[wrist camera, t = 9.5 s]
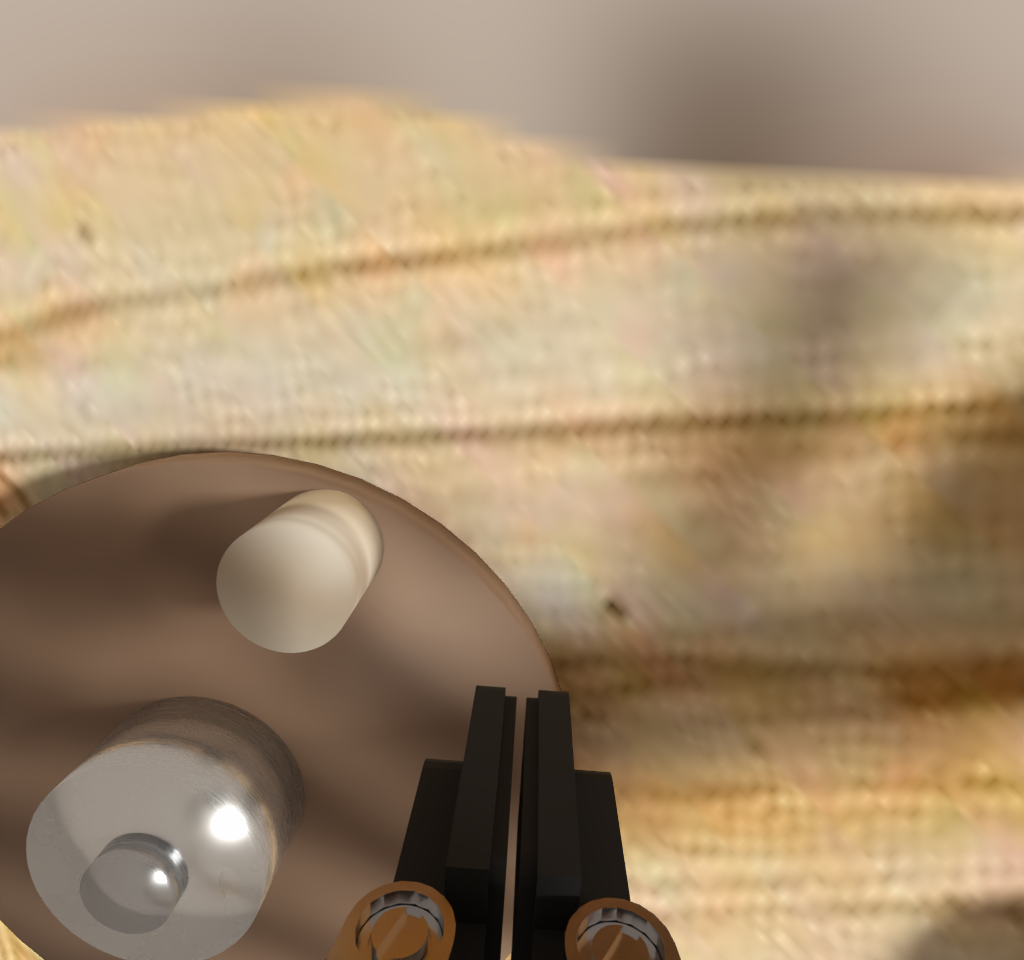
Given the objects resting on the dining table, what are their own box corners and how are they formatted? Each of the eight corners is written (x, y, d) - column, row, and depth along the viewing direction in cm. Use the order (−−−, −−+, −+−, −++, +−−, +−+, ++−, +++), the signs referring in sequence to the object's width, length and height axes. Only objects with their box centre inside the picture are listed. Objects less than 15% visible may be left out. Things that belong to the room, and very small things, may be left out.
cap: (311, 875, 27) (260, 1000, 22) (117, 866, 27) (25, 987, 22) (297, 700, 25) (238, 794, 20) (89, 692, 25) (-19, 783, 20)
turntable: (438, 1068, 32) (414, 1239, 26) (-91, 878, 30) (-242, 1012, 24) (680, 609, 25) (720, 697, 20) (24, 341, 24) (-143, 351, 18)
